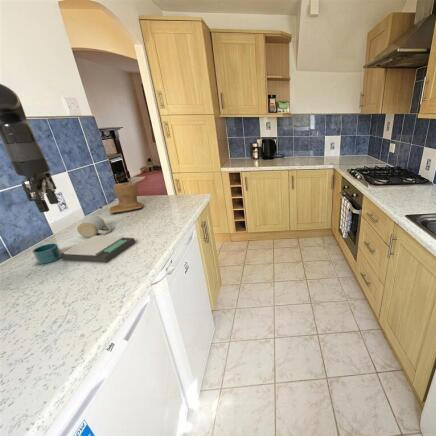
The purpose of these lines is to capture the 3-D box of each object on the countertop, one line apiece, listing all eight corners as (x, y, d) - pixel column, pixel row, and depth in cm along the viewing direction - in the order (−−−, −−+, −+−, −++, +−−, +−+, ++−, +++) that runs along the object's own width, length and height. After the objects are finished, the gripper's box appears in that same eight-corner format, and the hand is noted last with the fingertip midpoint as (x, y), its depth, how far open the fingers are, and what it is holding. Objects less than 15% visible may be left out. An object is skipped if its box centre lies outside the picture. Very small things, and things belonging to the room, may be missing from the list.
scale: (62, 260, 87) (59, 252, 86) (96, 241, 100) (93, 234, 99) (107, 262, 85) (104, 255, 84) (135, 243, 98) (133, 236, 97)
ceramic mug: (79, 239, 102) (72, 223, 99) (87, 231, 109) (81, 215, 106) (108, 235, 105) (103, 219, 102) (114, 228, 112) (109, 212, 109)
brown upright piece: (144, 204, 142) (136, 178, 136) (143, 210, 132) (135, 183, 126) (113, 209, 135) (104, 182, 129) (110, 216, 126) (100, 188, 120)
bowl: (33, 264, 86) (27, 252, 84) (52, 254, 91) (46, 243, 89) (49, 265, 85) (43, 253, 83) (67, 255, 91) (61, 243, 89)
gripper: (22, 155, 78) (43, 203, 85) (-3, 162, 66) (25, 217, 73) (52, 153, 81) (70, 199, 88) (33, 160, 69) (57, 212, 76)
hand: (50, 207), depth 80 cm, fingers open, 8 cm apart
